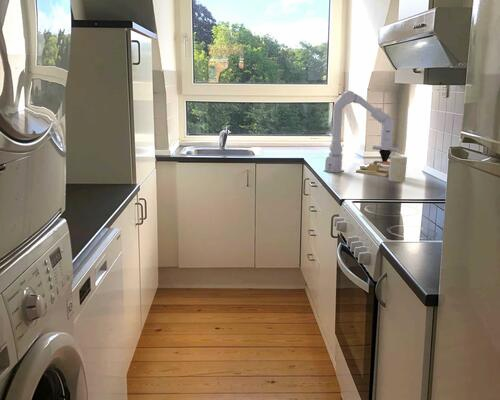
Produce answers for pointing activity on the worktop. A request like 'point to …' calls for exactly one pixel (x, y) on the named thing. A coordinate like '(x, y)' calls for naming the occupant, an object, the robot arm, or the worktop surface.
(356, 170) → the mount board
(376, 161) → the valve lever
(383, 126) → the robot arm
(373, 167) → the valve pipe
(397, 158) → the cup
